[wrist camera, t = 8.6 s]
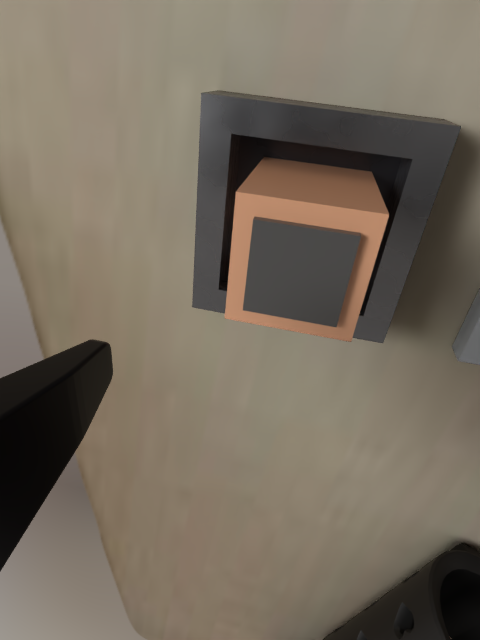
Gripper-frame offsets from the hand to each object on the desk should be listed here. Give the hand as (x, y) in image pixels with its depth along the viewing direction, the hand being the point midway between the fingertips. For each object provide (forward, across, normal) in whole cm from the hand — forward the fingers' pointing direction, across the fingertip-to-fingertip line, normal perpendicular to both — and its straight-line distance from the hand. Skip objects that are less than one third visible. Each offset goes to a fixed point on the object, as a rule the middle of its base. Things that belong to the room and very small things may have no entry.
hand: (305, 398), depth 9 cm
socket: (+12, +1, 0) cm, 12 cm away
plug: (+11, +1, 0) cm, 11 cm away
